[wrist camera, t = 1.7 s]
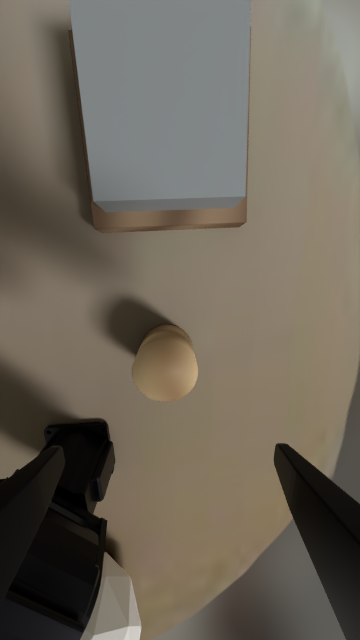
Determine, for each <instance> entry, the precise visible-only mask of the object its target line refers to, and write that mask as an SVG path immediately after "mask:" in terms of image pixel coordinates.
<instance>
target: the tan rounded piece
mask: <svg viewBox="0 0 360 640" xmlns="http://www.w3.org/2000/svg"><path fill="white" fill-rule="evenodd" d="M132 377H133V381H134V383H135V385H136V387H137V388H138V390H139V391H140V392H141V393H142V394H144V395H145V396H146V397H148V398H150V399H153V400H156V401H161V402H168V401H174V400H177V399H180V398H182V397H183V396H185V395H186V394H188V393H189V392H190V391H191V389H192V388H193V387H194V385H195V383H196V380H197V377H198V366H197V362H196V358H195V354H194V351H193V347H192V343H191V340H190V338H189V336H188V335H187V333H186V332H185V331H184V330H182V329H181V328H179V327H177V326H174V325H167V324H165V325H160V326H157V327H155V328H153V329H151V330H150V331H149V332H148V333H147V334H146V336H145V337H144V339H143V342H142V344H141V346H140V348H139V351H138V353H137V355H136V357H135V360H134V362H133V366H132Z"/></svg>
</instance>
